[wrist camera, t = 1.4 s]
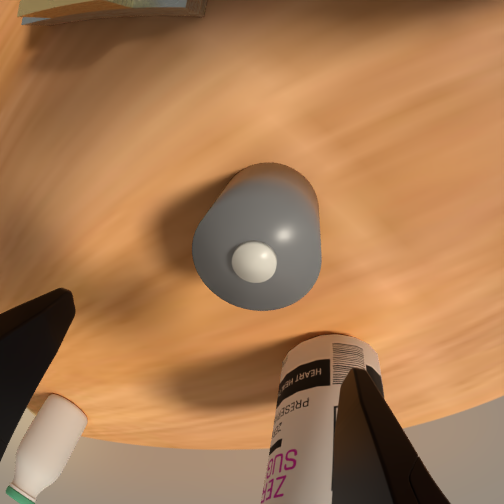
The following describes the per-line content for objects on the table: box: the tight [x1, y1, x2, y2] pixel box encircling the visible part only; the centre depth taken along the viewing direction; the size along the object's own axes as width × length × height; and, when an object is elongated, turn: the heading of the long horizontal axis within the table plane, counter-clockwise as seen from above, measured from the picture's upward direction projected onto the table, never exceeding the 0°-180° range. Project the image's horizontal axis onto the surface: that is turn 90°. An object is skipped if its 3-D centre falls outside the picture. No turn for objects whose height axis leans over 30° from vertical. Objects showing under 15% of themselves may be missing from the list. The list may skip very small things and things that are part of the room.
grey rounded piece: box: [192, 163, 321, 311], centre depth 17 cm, size 6×6×6 cm
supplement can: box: [261, 334, 384, 504], centre depth 19 cm, size 8×8×15 cm
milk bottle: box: [6, 394, 87, 504], centre depth 33 cm, size 8×8×20 cm
